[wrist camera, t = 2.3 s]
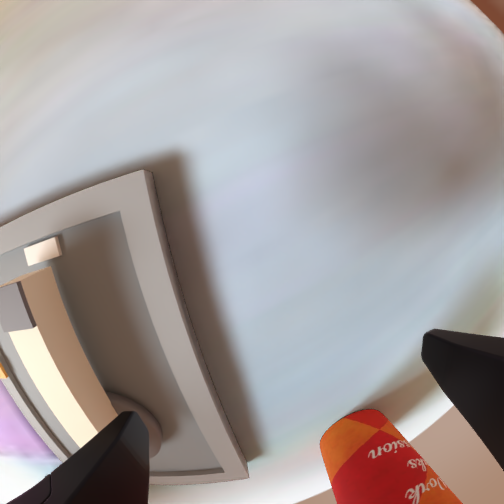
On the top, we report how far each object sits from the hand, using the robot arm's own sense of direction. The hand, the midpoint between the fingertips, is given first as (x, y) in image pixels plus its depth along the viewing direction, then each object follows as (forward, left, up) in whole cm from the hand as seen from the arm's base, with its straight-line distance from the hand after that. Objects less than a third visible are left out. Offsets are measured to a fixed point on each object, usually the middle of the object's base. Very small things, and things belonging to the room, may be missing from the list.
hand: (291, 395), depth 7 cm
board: (-3, +12, -8) cm, 15 cm away
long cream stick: (-2, +11, -6) cm, 13 cm away
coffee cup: (-14, -5, -8) cm, 17 cm away
